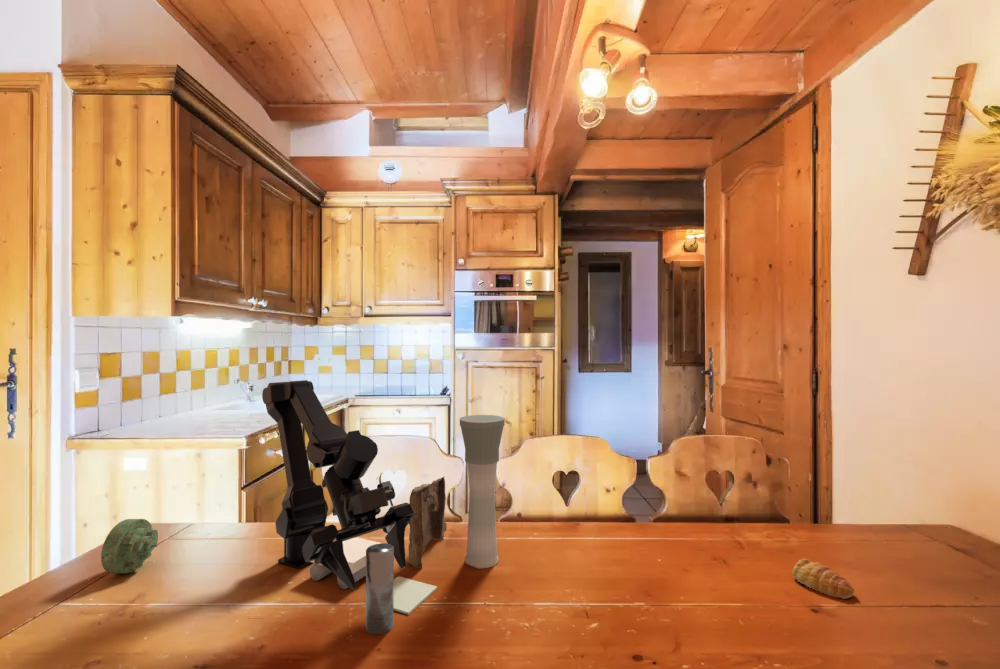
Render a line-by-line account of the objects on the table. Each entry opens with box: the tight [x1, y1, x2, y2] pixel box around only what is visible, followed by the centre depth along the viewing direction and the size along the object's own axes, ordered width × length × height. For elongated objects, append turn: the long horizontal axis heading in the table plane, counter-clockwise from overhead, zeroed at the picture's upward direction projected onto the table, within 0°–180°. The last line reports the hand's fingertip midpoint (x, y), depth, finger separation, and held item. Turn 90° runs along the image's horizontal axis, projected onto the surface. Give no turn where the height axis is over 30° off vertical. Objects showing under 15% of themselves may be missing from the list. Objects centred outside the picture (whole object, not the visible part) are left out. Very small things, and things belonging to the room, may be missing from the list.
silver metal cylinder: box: [365, 542, 395, 636], centre depth 75 cm, size 4×4×12 cm
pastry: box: [792, 558, 855, 600], centre depth 87 cm, size 9×7×4 cm
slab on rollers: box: [309, 536, 381, 590], centre depth 92 cm, size 11×10×5 cm
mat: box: [394, 575, 438, 616], centre depth 84 cm, size 9×9×1 cm
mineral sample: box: [407, 476, 448, 569], centre depth 102 cm, size 17×4×15 cm, turn 168°
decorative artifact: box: [100, 518, 159, 574], centre depth 93 cm, size 10×7×10 cm
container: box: [459, 414, 505, 569], centre depth 98 cm, size 10×10×30 cm
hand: (379, 577), depth 75 cm, fingers open, 9 cm apart
